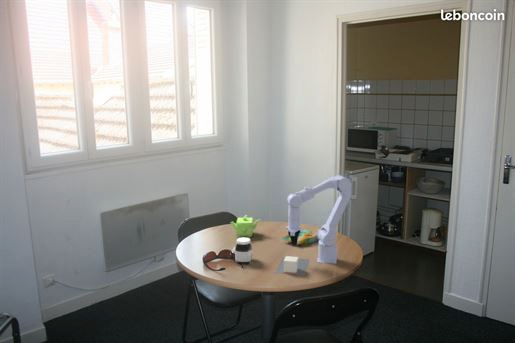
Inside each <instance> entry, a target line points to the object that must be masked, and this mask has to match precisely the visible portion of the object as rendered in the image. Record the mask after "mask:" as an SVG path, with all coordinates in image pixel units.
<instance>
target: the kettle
mask: <svg viewBox="0 0 515 343" xmlns="http://www.w3.org/2000/svg"><path fill="white" fill-rule="evenodd" d="M260 221H261V219H256V220H255V222H254V217H248V215H247V214H245V215H244V216H243V217H237V219H236V223H235V222H234V221H231V222H230V224H231V225H232V227H233V228H234V229H235V230H236V237H237V239H238V238H243V237H246V238H249V239H251V238H252V237H253V234H254V231H255V229H256V228H257V224H258V223H259V222H260Z"/></svg>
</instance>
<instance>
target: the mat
mask: <svg viewBox="0 0 515 343" xmlns="http://www.w3.org/2000/svg"><path fill="white" fill-rule="evenodd" d="M285 257H286V256H285ZM285 257H284V256H283V257H281V259H280V260H279V263H278V266H277V267H276V271H275V273H274V274H278V275H280V274H282V275H292V276H294V275H295V276H306V273H307V271H308V270H307V269H308V266H309V262H310V259H309V258H299V257H298V271H297V274H292V273H284V259H285Z"/></svg>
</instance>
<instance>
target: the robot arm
mask: <svg viewBox="0 0 515 343" xmlns="http://www.w3.org/2000/svg"><path fill="white" fill-rule="evenodd" d="M352 186H353V184H352V183H351V180H350V179H349V178H347V177H345V176H343V175H341V174H334V175H332V176H330V177H329V178H327V179H326V180H324V181H322V182H321V183H318V184H317V185H315V186H313V187H310V186H305V187H303V189H301V190H300V191H296V192H295V193H290V194H288V196H287V199H286V202H287V205H288V211H287V212H288V213H287V214H288V215H287V217H288V222H287V223H288V226H287V225H286V227H285V229H287V230H288V232H287V235H289V236H290V239H291V242H290V243H291V245H292V246H295V247H296V246H298V245H297V240H298V236H299V234H300V231H301V229H302V227H301V206H302V204H303V203H305V202H307V201H310V200H311V199H314V198H315V196H316V194H319V193H321V192H324V191H326V190H328V189H335V190H336V191H337V194H338V197H337V199H336V201H335V202H334V203H335V204H334V206H333V208H332V210H331V212H330V214H329V217H328V218H327V220H326V223H324V224H323V225H321V227H320V229H318V231H317V232H316V233H317V237H318V239H319V240H318V250H317V251H318V255H317V261H316V263H321V264H322V263H323V264H335V265H336V264H337V261H338V244H335V242H336V235H337V227H338V225H339V223H340V220H341V218H342V216H343V214H344V211H345V210H346V208H347V205H348V203H349V202H350V199H351V197H352Z"/></svg>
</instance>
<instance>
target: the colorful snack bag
mask: <svg viewBox="0 0 515 343" xmlns="http://www.w3.org/2000/svg"><path fill="white" fill-rule="evenodd" d="M281 239H282V240H284V241H287V242H288V243H291V239H290V236H289V234H286V235H283V236H282V237H281ZM317 241H319V239H318V237H317V232H316V231H312V230H310V229H303V230H300V234H299V236H298V240H297V245H296V246H299V247H301V246H304V245H307V244H310V243H314V242H317Z"/></svg>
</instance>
